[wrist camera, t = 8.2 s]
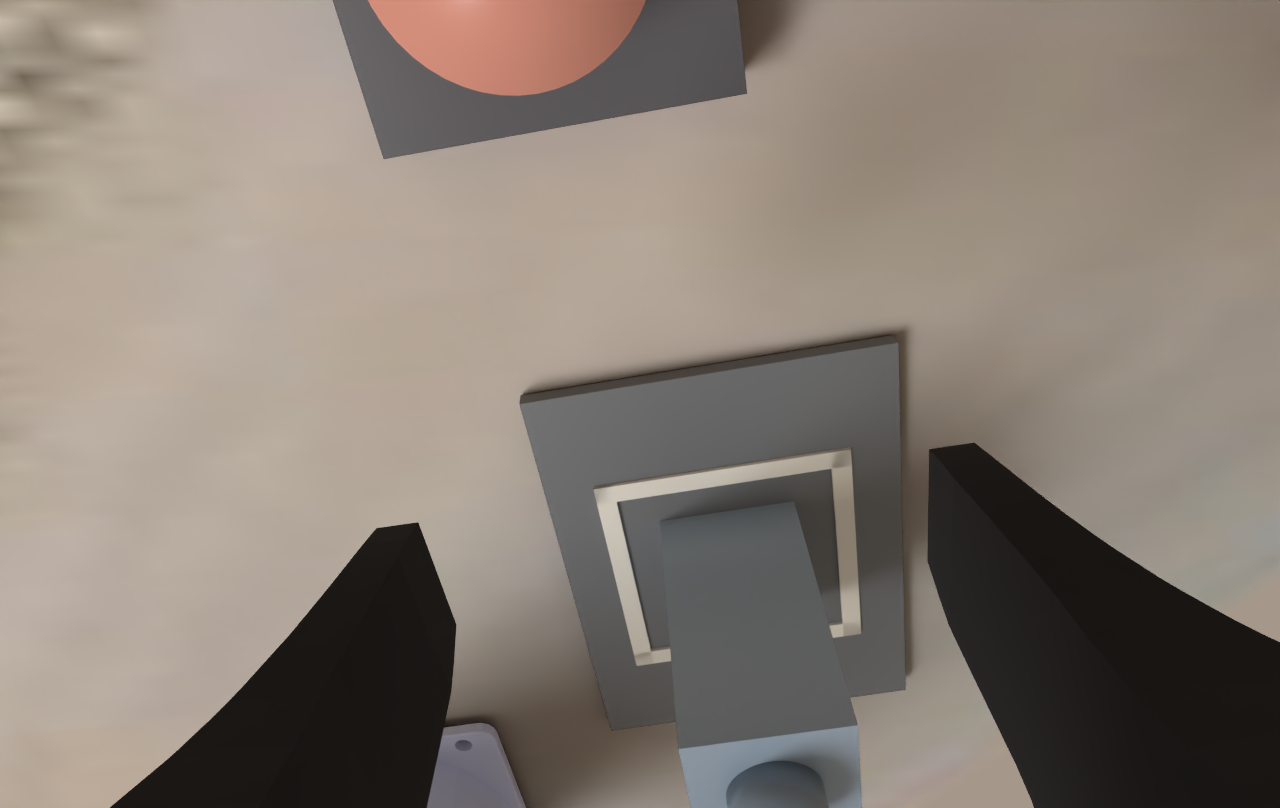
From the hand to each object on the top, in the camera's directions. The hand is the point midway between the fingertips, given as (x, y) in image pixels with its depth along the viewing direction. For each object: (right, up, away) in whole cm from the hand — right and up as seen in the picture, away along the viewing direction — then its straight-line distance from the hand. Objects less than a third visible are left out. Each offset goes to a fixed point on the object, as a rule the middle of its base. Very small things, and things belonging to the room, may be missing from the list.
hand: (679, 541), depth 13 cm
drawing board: (+2, -2, +12) cm, 12 cm away
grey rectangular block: (+2, -2, +12) cm, 12 cm away
